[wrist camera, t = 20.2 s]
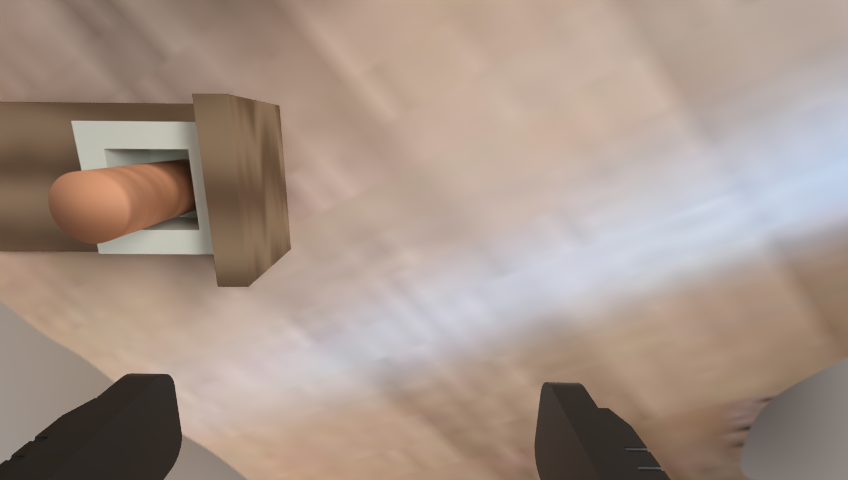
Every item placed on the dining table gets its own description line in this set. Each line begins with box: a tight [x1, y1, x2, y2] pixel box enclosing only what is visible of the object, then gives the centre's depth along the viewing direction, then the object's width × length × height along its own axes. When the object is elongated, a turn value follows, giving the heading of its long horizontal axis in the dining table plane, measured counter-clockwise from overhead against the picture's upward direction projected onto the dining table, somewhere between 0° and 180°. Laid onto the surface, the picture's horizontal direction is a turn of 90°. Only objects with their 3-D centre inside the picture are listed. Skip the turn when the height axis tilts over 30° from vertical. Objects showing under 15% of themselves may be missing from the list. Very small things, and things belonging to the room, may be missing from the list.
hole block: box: [71, 121, 213, 254], centre depth 29 cm, size 9×9×6 cm
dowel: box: [48, 159, 197, 244], centre depth 26 cm, size 4×4×10 cm
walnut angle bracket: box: [0, 94, 291, 287], centre depth 29 cm, size 12×25×9 cm, turn 90°
